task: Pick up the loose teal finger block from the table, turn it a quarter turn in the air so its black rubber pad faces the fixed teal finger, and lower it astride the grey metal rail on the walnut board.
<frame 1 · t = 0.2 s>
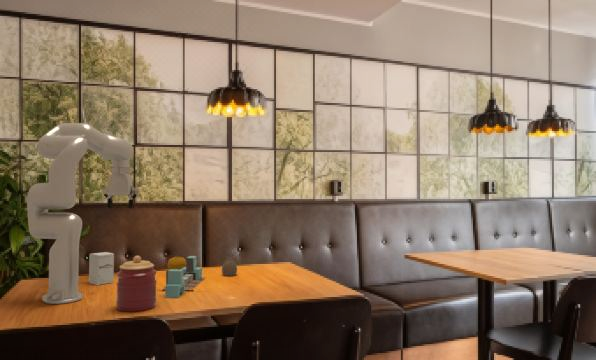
hand: (120, 208, 205), 31 cm above the table, tool pointing down, fingers open, 9 cm apart
vase: (229, 277, 202), on the table
canister: (136, 307, 152), on the table
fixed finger: (191, 278, 193), resting on rail board
supplement box: (101, 283, 188), on the table
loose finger: (175, 295, 168), on the table
apple: (177, 275, 205), on the table
rail board: (186, 284, 185), on the table
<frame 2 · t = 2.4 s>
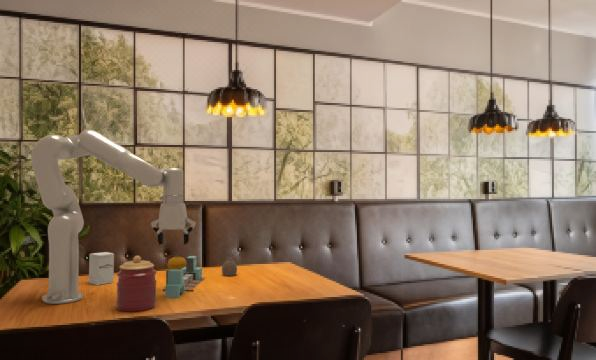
hand: (173, 244, 170), 19 cm above the table, tool pointing down, fingers open, 9 cm apart
nothing on the table moved.
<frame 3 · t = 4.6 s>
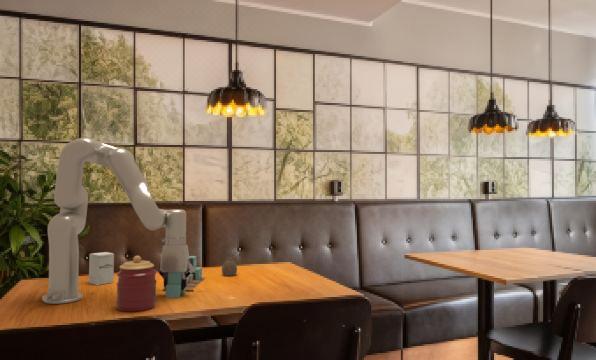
hand: (175, 288, 168), 2 cm above the table, tool pointing down, fingers closed on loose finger, 5 cm apart
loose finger: (175, 295, 168), on the table, touching gripper
everything else where it was.
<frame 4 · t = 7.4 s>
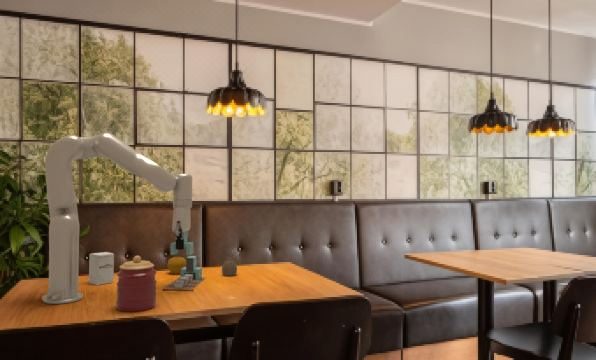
hand: (182, 247, 180), 16 cm above the table, tool pointing down, fingers closed on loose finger, 5 cm apart
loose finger: (182, 253, 179), point 14 cm above the table, touching gripper
everything else where it was.
when the fingers open (5 cm above the table, at t = 9.8 s): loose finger drops 1 cm, resting on rail board.
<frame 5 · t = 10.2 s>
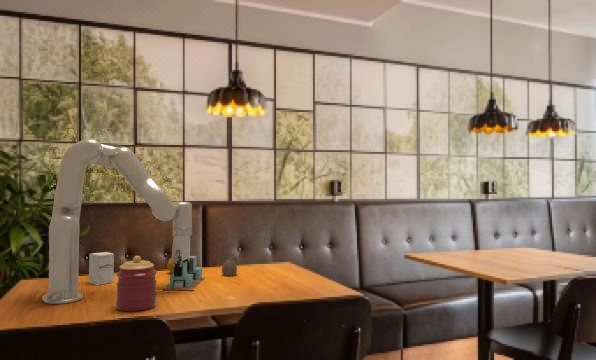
hand: (181, 274, 179), 6 cm above the table, tool pointing down, fingers open, 9 cm apart
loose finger: (181, 286, 179), point 1 cm above the table, touching rail board
everything else where it was.
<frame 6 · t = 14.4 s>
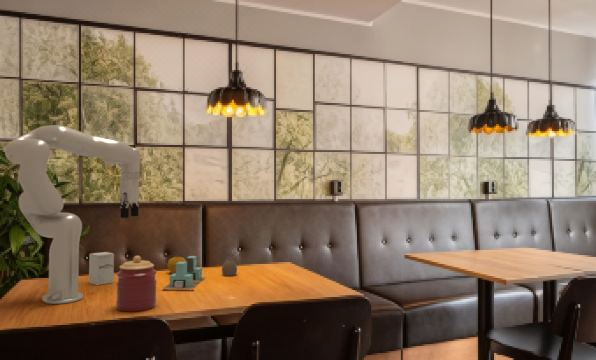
hand: (129, 216, 188), 28 cm above the table, tool pointing down, fingers open, 9 cm apart
nothing on the table moved.
at the end: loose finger 0.3 cm from the target spot on the rail board, point 1.0 cm above the rail board's base; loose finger tilted 0°; the gripper is holding nothing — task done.
